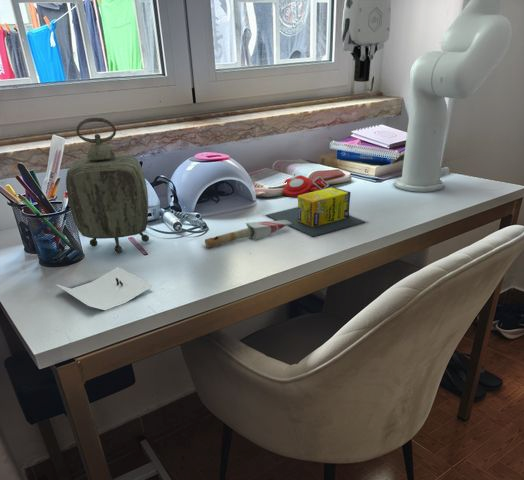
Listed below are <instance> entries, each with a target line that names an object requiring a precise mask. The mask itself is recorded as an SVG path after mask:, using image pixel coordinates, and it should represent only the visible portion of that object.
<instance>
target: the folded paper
mask: <svg viewBox="0 0 524 480" xmlns="http://www.w3.org/2000/svg"><path fill="white" fill-rule="evenodd" d="M55 285H56V286H57V287H59V288H60V289H62V290H63V291H65V292H66V293H68V294H69V295H71V296H72V297H74V298H75V299H77V300H78V301H80V302H81V303H83V304H85V305H86V306H87V307H90V308H94V309H98V310H102V311H107V310H111V309H113V308H115V307H118V306H121V305H123V304H125V303H128V302H130V301H132V299H135V298H136V297H138V296H140V294H142V293H144V292H146V291H147V290H149V289H150V288H153V287H154V285H153V284H151V283H150V282H148V281H146V280H144V279H142V278H140V277H138V276H137V275H135V274H133V273H131V272H129V271H127V270H124V269H123V268H121V267H119V266H117V267H115V268H113V269H112V270H110V271H108V272H107V273H104V274H103V275H101V276H100V277H98V278H96V279H94V280H92V281H91V282H87V283H85V284H82V285H78V286H75V287H73V288H70V287H67V286H63V285H60V284H56V283H55Z"/></svg>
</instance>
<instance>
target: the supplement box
mask: <svg viewBox="0 0 524 480" xmlns="http://www.w3.org/2000/svg"><path fill="white" fill-rule="evenodd" d="M351 193H352V192H351V191H349V190H345V189H341V188H338V187H335V186H332V187H327V188H326V189H323V190H319V191H314V192H307V193H306V194H302V195H298V196H297V207H298V220H297V221H299V222H301V223H304V224H306V225H309V226H311V227H317V226H320V225H324V224H327V223H331V222H335V221H338V220H342V219H345V218H349V216H350V205H351Z"/></svg>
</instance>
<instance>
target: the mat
mask: <svg viewBox="0 0 524 480" xmlns="http://www.w3.org/2000/svg"><path fill="white" fill-rule="evenodd" d="M265 216H266V217H268V218H270V219H272V220H273V221H278V220H287V221H289V222H291V223H292V224H290V225H288V226H287V227H290V228H292V229H294V230H295V231H299V232H300V233H303V234H305V235H307V236H309V237H311V238H315V237H318V236H322V235H325V234H330V233H333V232H336V231H340V230H344V229H348V228H351V227H355V226H357V225H362V224H366V221H364V220H362V219H360V218H357V217H354V216H351V215H349V218H345V219H342V220H338V221H335V222H331V223H327V224H324V225H320V226H317V227H311V226H309V225H306V224H304V223H301V222H299V221H297V220H298V206H296V207H294V208H293V207H292V208H289V209H285V210H281V211H277V212H272V213H268V214H266V215H265Z"/></svg>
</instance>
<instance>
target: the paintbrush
mask: <svg viewBox="0 0 524 480" xmlns="http://www.w3.org/2000/svg"><path fill="white" fill-rule="evenodd" d="M290 224H292V223H291V222H289V221H287V220H278V221H276V220H266V221H254V222H245V225H246V228H243V229H239V230H234V231H231V232H228V233H223V234H221V235H216V236H214V237H209V238H205V239H204V244H205V246H206V248H209V249H210V248H211V247H215V246H217V245H218V246H219V245H224V244H226V243H231V242H234V241H237V240H241V239H244V238H245V239H246V238H250V239H252V240H253V241H257V240H259V239H261V238H263V237H266V236H268V235H270V234H272V233H274V232H276V231H279V230H281V229H283V228H286V227H289V226H288V225H290Z"/></svg>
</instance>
